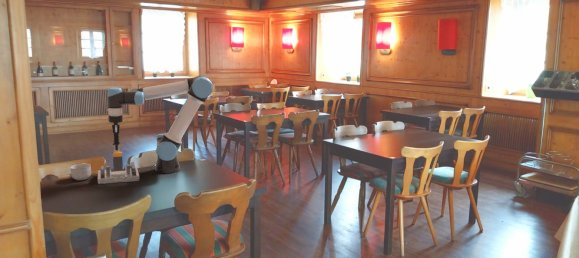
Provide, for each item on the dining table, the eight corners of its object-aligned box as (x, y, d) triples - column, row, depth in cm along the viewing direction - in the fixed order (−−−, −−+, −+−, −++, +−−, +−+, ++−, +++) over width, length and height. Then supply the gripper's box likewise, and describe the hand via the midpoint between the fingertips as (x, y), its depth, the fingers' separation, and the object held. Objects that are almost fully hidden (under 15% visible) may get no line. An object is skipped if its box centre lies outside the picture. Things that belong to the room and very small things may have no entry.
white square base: (134, 167, 284) (134, 161, 283) (136, 176, 267) (136, 170, 266) (100, 170, 277) (100, 164, 277) (100, 178, 260) (100, 172, 259)
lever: (125, 169, 274) (124, 151, 270) (125, 171, 273) (124, 152, 268) (110, 170, 271) (109, 152, 267) (110, 172, 270) (110, 153, 265)
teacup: (86, 182, 264) (85, 168, 262) (67, 181, 264) (66, 167, 262) (96, 175, 277) (96, 162, 276) (78, 174, 278) (77, 161, 276)
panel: (137, 172, 285) (136, 160, 283) (139, 180, 268) (138, 168, 267) (98, 175, 277) (97, 163, 275) (98, 184, 260) (97, 171, 259)
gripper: (108, 113, 270) (109, 152, 274) (108, 117, 258) (110, 158, 262) (122, 113, 272) (123, 152, 277) (122, 116, 260) (124, 157, 265)
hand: (116, 155), depth 270 cm, fingers closed
